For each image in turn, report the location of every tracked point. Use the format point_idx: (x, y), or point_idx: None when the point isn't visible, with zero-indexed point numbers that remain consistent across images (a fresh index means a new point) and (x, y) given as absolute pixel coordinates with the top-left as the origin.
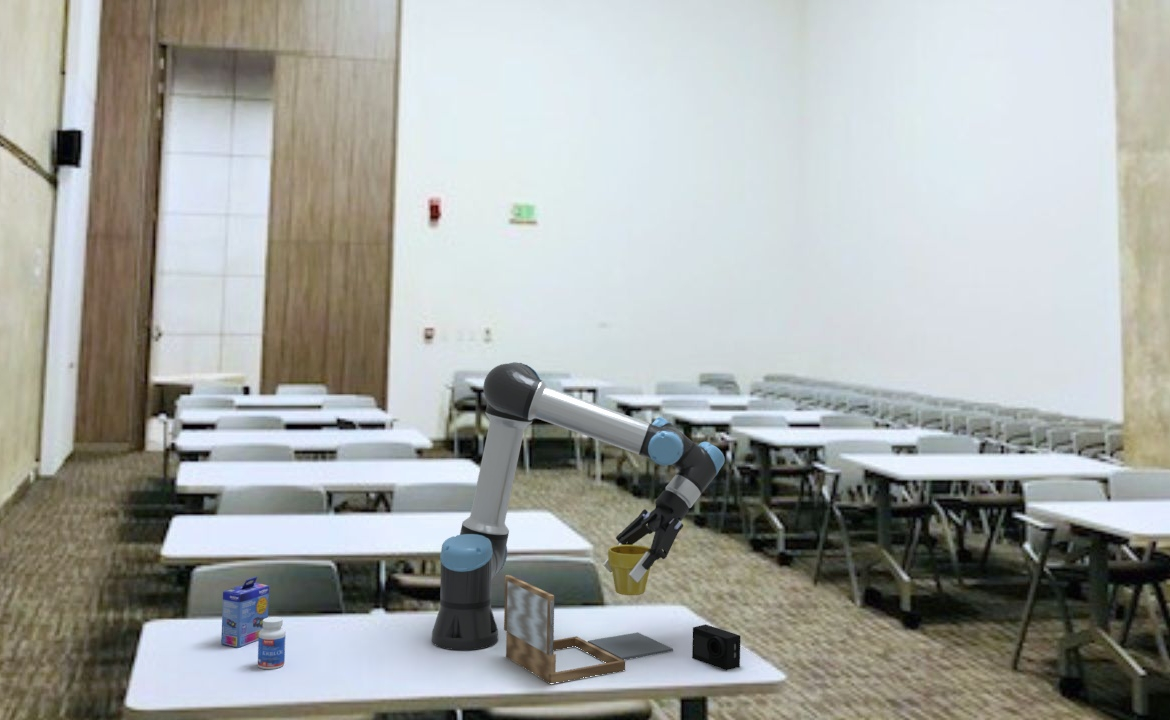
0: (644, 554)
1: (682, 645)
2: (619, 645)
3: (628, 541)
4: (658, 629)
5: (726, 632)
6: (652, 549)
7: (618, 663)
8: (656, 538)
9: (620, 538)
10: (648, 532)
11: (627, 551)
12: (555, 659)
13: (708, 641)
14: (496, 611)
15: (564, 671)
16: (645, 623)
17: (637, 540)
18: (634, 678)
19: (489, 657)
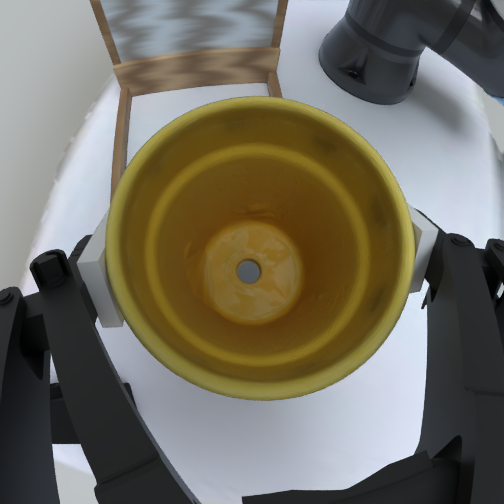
0: (101, 247)
1: (214, 413)
2: (247, 270)
3: (438, 289)
4: (341, 415)
5: (52, 434)
6: (32, 272)
7: (111, 195)
8: (66, 371)
9: (487, 258)
10: (421, 450)
11: (381, 275)
12: (115, 73)
13: (54, 386)
14: (492, 170)
15: (123, 101)
16: (388, 403)
17: (427, 355)
18: (79, 214)
19: (279, 61)
